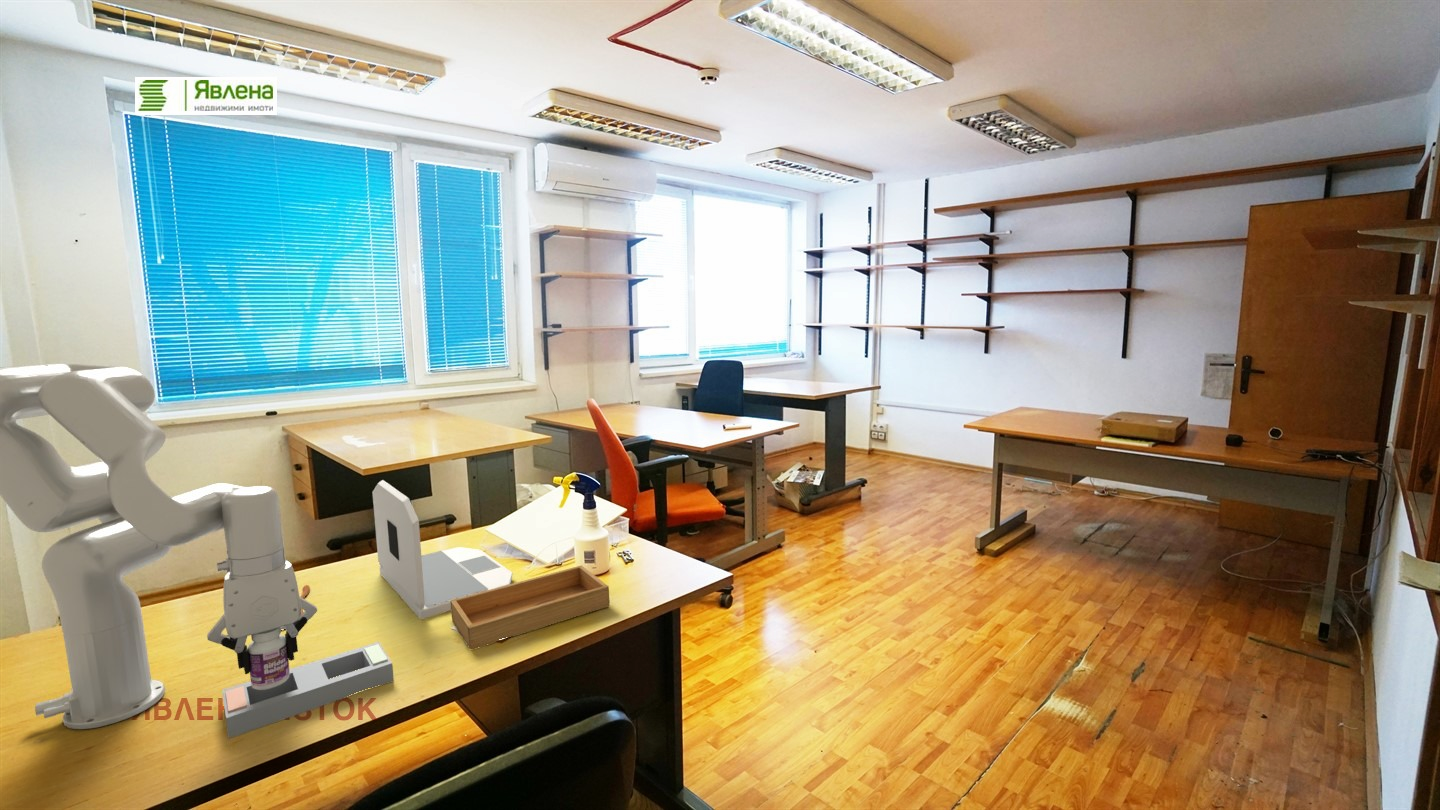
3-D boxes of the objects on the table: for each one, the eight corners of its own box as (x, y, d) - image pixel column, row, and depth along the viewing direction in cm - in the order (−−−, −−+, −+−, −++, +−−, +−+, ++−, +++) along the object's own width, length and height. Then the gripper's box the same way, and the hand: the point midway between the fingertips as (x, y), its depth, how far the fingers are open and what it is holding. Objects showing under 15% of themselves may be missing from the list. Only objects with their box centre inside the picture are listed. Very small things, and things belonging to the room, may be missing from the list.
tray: (470, 652, 126) (468, 625, 125) (451, 622, 138) (450, 598, 137) (610, 609, 143) (609, 586, 143) (582, 586, 156) (581, 565, 155)
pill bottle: (270, 693, 104) (264, 638, 102) (243, 689, 105) (237, 635, 103) (298, 674, 109) (292, 622, 107) (272, 671, 110) (266, 619, 109)
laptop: (523, 589, 154) (518, 484, 150) (419, 621, 138) (410, 505, 134) (472, 551, 179) (466, 460, 175) (378, 575, 163) (370, 475, 159)
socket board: (228, 738, 100) (225, 716, 99) (224, 708, 107) (221, 688, 107) (393, 680, 115) (392, 661, 115) (380, 658, 123) (378, 640, 122)
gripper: (190, 583, 95) (205, 693, 98) (322, 555, 106) (332, 654, 109) (189, 568, 101) (203, 673, 104) (314, 543, 112) (324, 638, 115)
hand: (269, 662), depth 106 cm, fingers closed on pill bottle, 5 cm apart
